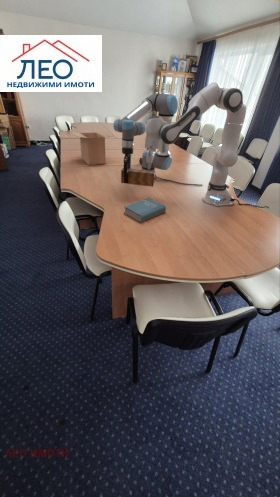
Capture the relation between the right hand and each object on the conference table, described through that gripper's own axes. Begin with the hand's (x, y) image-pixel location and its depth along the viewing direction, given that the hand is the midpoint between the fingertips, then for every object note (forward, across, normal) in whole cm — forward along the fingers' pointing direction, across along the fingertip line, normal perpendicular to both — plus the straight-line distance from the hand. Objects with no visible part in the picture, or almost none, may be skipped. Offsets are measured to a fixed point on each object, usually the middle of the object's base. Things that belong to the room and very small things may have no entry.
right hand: (149, 167), depth 151 cm
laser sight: (+24, +91, +10) cm, 95 cm away
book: (+24, -22, -2) cm, 33 cm away
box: (+24, +82, +69) cm, 110 cm away
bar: (+12, 0, +8) cm, 15 cm away
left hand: (+12, 0, +16) cm, 20 cm away
